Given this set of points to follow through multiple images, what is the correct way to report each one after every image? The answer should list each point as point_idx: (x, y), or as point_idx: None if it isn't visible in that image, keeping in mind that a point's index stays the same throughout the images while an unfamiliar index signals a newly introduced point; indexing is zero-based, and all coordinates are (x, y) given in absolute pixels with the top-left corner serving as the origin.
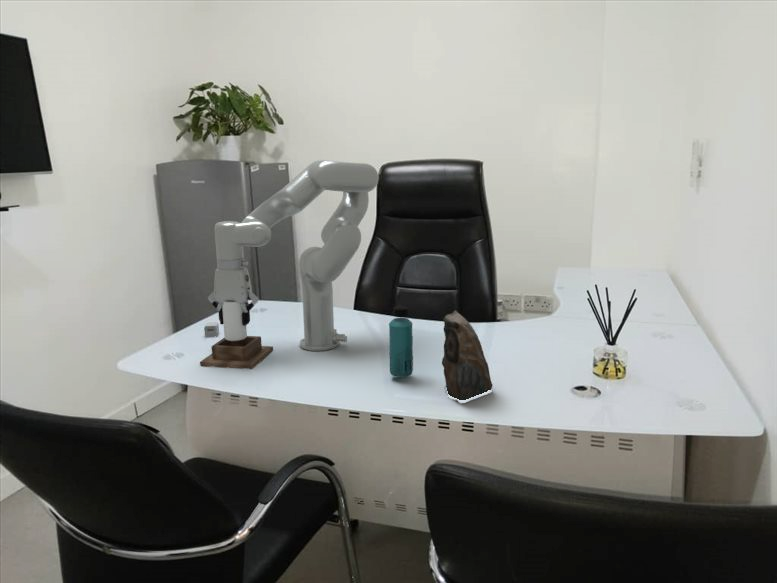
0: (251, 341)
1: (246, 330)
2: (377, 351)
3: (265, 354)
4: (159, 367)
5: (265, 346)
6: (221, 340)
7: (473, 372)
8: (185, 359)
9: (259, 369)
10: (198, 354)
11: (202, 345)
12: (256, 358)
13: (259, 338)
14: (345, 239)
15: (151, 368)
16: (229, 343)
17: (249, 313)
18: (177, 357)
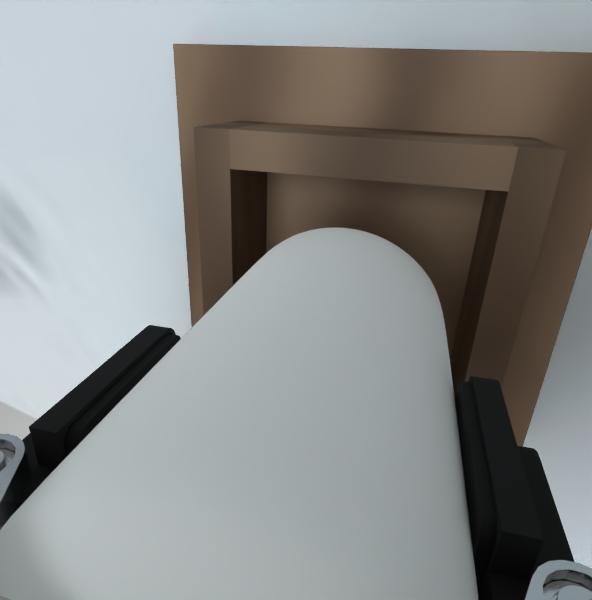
0: (489, 310)
1: (447, 343)
2: None
3: (583, 239)
4: (42, 384)
5: (561, 63)
6: (212, 283)
7: None
8: (80, 288)
9: (565, 441)
10: (95, 207)
11: (9, 19)
12: (529, 351)
13: (552, 194)
14: None
15: (21, 393)
16: (251, 181)
17: (565, 552)
18: (24, 260)
